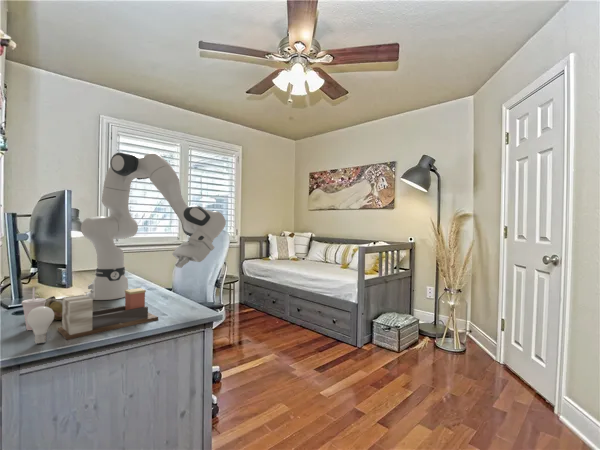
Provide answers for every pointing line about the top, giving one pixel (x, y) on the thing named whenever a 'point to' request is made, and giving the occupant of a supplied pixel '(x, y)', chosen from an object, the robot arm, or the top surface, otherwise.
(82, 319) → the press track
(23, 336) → the top surface
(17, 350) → the top surface
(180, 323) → the top surface
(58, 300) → the ceramic sculpture
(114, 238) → the robot arm
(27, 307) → the smoothie
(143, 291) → the plunger
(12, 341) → the top surface
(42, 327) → the lightbulb
